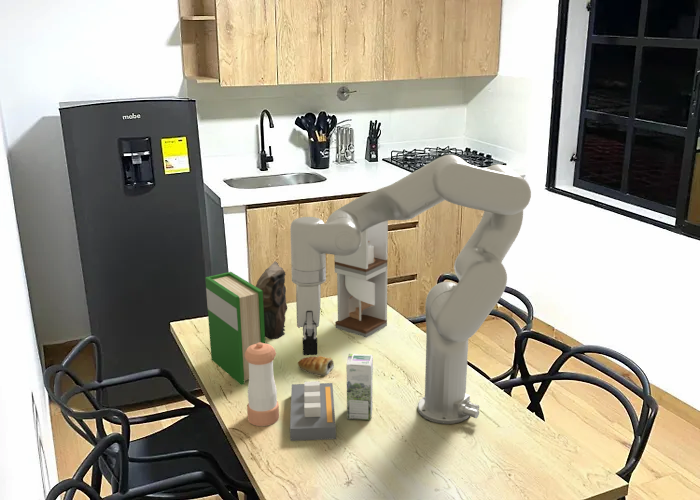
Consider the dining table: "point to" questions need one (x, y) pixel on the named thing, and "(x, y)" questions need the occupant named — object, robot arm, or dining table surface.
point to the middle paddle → (312, 397)
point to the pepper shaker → (261, 385)
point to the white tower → (364, 284)
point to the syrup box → (359, 386)
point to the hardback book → (234, 322)
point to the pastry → (316, 365)
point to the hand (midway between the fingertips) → (310, 344)
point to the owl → (273, 300)
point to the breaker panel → (312, 425)
